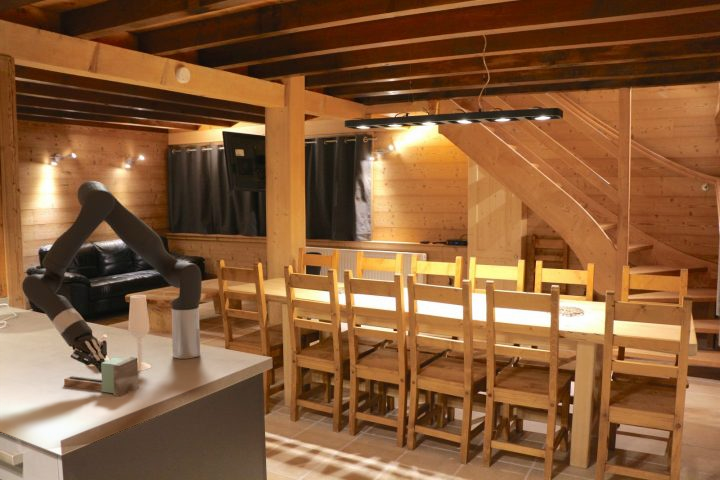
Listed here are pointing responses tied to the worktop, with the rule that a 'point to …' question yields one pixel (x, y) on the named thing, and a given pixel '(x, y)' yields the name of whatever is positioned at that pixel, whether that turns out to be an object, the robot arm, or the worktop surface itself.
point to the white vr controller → (101, 341)
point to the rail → (123, 378)
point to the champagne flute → (139, 324)
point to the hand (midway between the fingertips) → (106, 371)
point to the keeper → (109, 374)
